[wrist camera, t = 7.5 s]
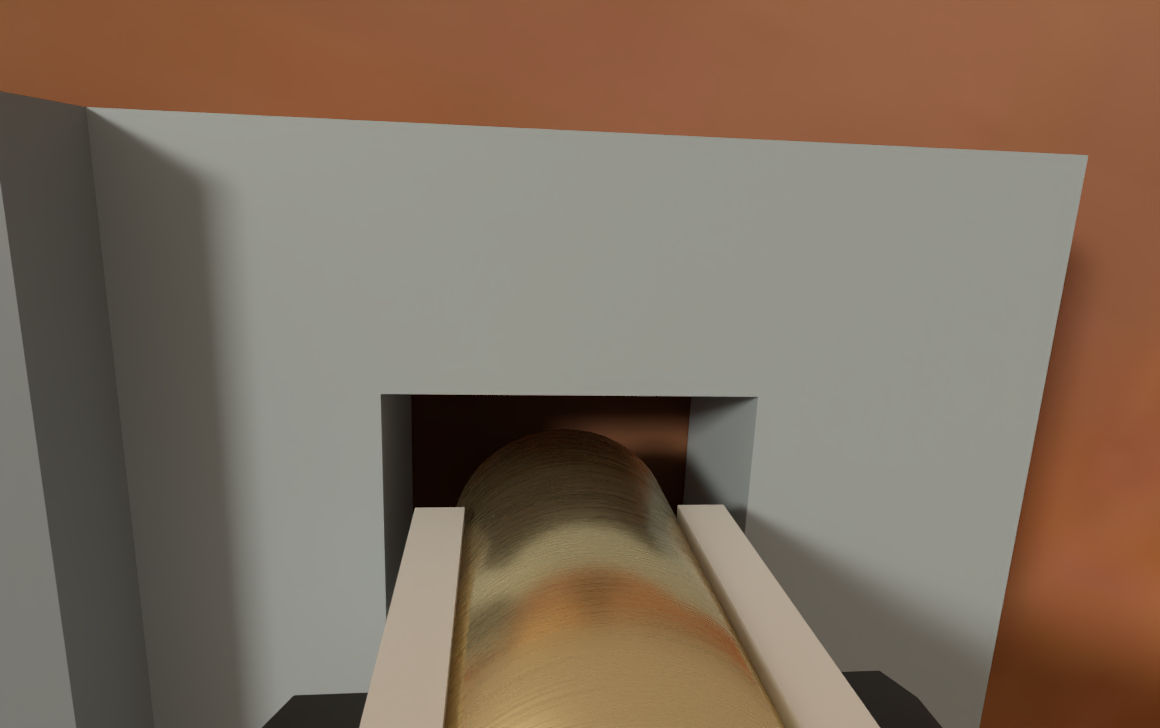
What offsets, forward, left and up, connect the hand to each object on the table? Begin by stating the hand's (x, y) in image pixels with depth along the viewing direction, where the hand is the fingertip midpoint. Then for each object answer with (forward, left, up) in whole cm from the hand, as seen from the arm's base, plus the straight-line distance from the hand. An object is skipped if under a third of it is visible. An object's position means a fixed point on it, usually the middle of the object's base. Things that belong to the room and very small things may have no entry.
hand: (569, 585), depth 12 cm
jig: (0, 0, -5) cm, 5 cm away
